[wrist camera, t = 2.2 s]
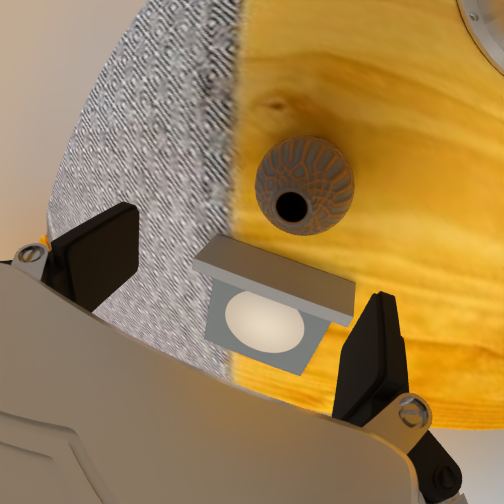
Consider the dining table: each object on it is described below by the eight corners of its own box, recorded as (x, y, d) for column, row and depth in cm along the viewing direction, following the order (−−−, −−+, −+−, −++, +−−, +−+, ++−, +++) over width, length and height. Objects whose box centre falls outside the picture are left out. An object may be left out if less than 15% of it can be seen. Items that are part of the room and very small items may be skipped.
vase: (256, 157, 24) (210, 183, 17) (326, 117, 21) (313, 121, 13) (297, 225, 26) (271, 278, 19) (368, 192, 22) (374, 237, 15)
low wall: (217, 233, 29) (193, 258, 25) (355, 283, 27) (353, 317, 22) (215, 244, 30) (192, 269, 25) (350, 292, 27) (347, 327, 23)
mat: (219, 253, 30) (217, 255, 30) (342, 298, 28) (342, 301, 27) (205, 336, 37) (203, 339, 36) (301, 373, 35) (300, 376, 34)
